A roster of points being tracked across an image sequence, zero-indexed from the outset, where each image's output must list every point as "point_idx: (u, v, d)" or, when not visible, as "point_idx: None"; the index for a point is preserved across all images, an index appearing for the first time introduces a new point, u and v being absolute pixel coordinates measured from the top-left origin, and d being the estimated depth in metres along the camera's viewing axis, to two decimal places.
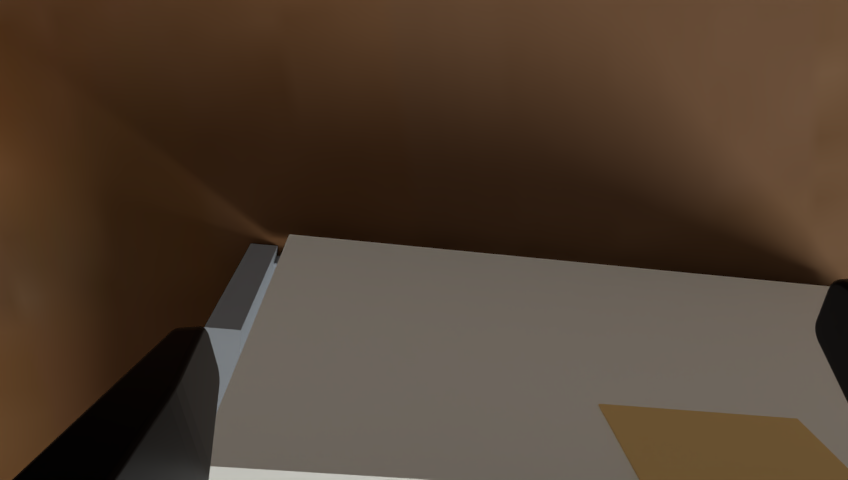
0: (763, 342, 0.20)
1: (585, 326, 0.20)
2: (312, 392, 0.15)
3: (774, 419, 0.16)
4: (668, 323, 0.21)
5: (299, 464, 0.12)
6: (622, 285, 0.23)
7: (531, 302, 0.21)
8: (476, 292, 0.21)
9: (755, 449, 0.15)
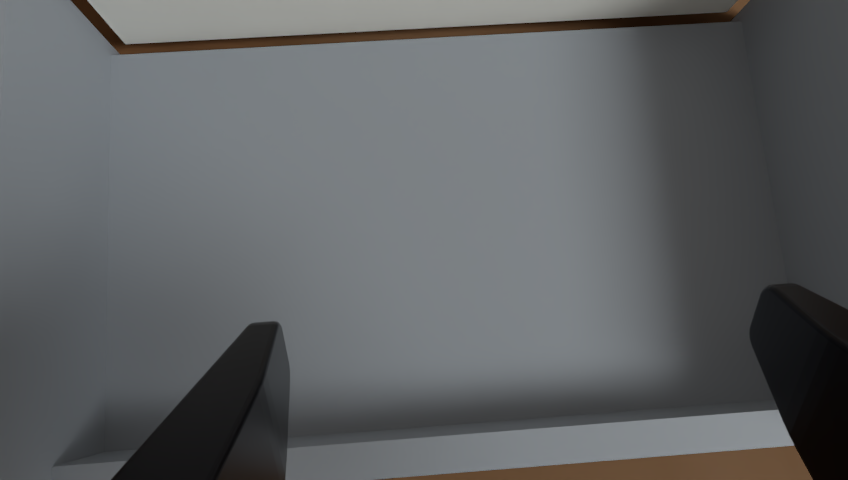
0: None
1: None
2: None
3: None
4: None
5: None
6: None
7: None
8: None
9: None
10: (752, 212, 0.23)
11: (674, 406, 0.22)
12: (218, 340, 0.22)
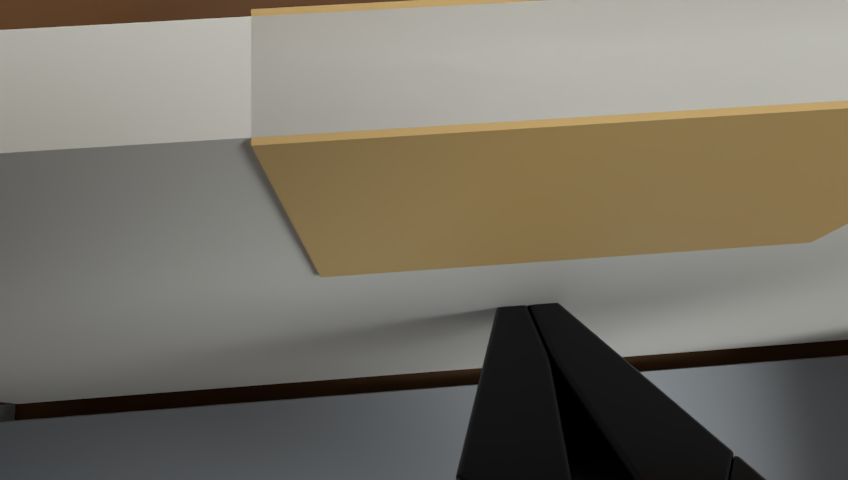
0: None
1: None
2: None
3: None
4: None
5: None
6: None
7: None
8: None
9: None
10: None
11: None
12: None
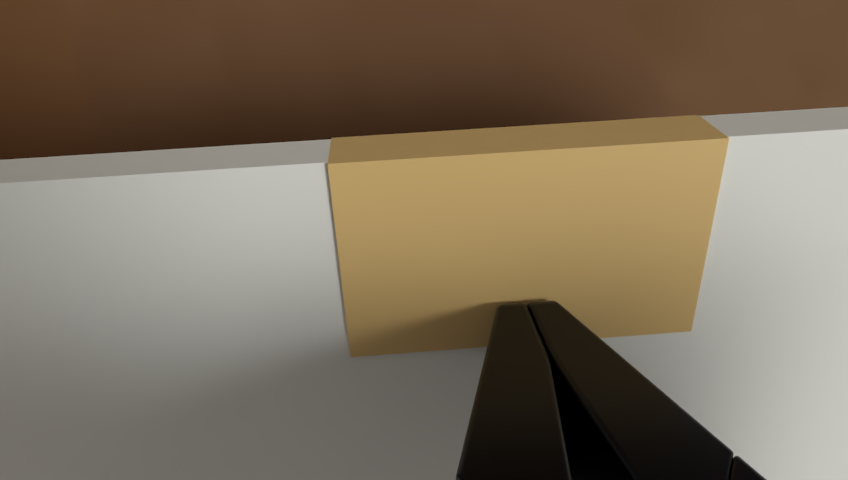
0: None
1: None
2: None
3: None
4: None
5: None
6: None
7: None
8: None
9: None
10: None
11: None
12: None
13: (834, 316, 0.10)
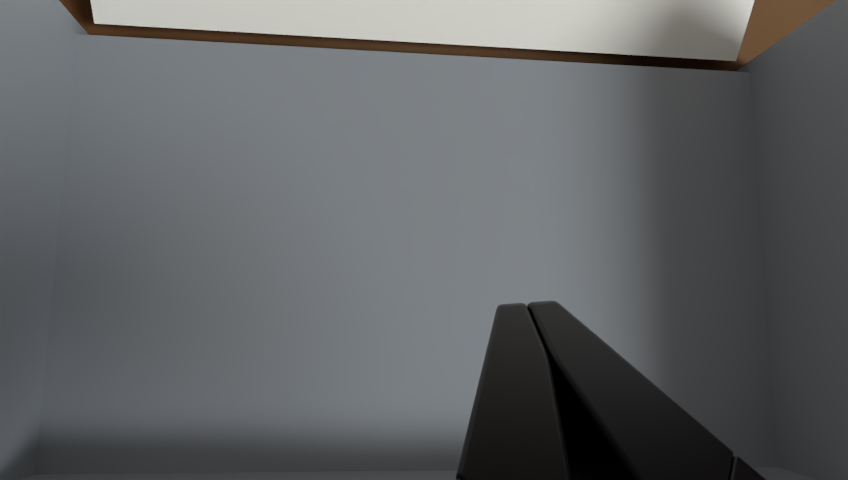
0: None
1: None
2: None
3: None
4: None
5: None
6: None
7: None
8: None
9: None
10: (741, 272, 0.23)
11: None
12: (171, 361, 0.20)
13: None
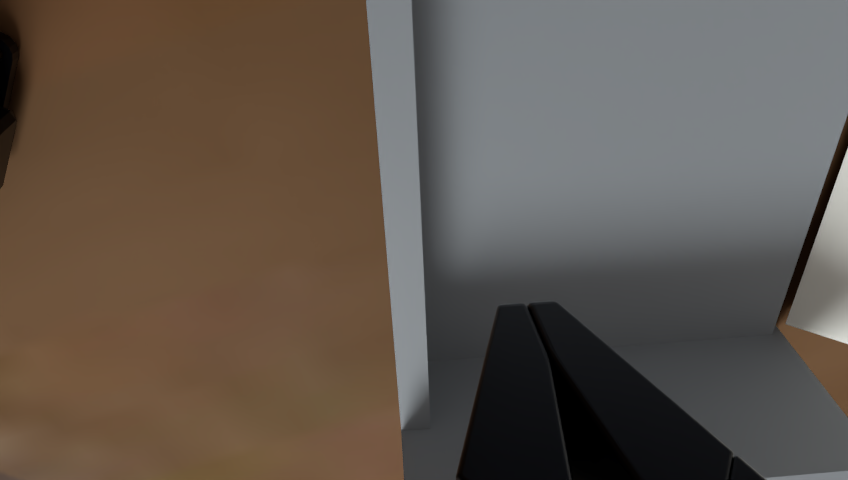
0: None
1: None
2: None
3: None
4: None
5: None
6: None
7: None
8: None
9: None
10: None
11: None
12: None
13: None
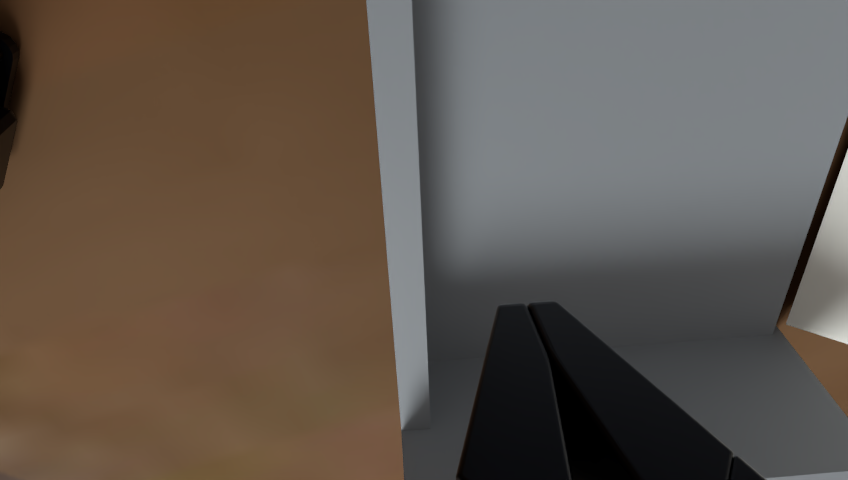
0: None
1: None
2: None
3: None
4: None
5: None
6: None
7: None
8: None
9: None
10: None
11: None
12: None
13: None
